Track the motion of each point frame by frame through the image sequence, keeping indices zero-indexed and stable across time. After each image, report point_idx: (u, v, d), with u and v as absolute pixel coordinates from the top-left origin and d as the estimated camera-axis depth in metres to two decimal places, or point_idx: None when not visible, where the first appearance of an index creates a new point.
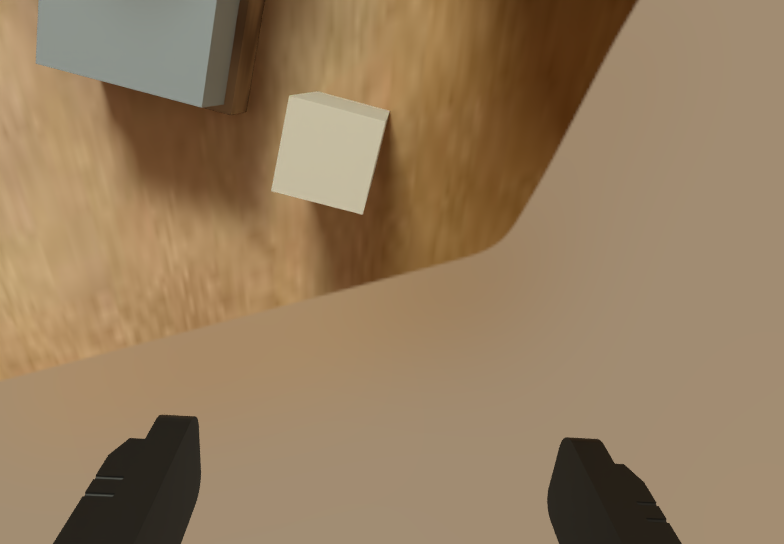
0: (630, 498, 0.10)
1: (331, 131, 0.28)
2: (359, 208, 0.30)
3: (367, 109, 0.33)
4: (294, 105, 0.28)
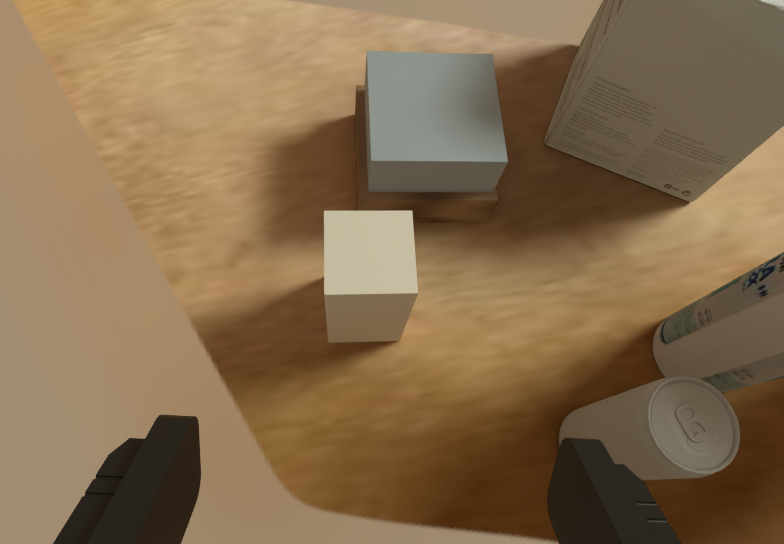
0: (630, 498, 0.10)
1: (393, 249, 0.31)
2: (329, 290, 0.29)
3: None
4: (405, 216, 0.31)
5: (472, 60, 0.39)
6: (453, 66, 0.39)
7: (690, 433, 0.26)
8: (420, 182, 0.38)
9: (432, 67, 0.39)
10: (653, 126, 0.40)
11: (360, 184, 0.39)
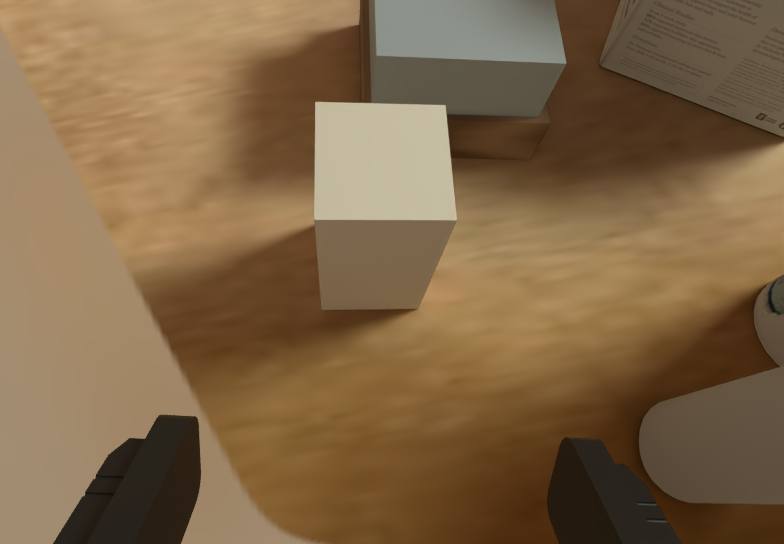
0: (630, 498, 0.10)
1: (419, 158, 0.20)
2: (322, 213, 0.19)
3: None
4: (435, 112, 0.21)
5: None
6: None
7: None
8: (442, 97, 0.28)
9: None
10: (757, 25, 0.30)
11: (366, 98, 0.29)
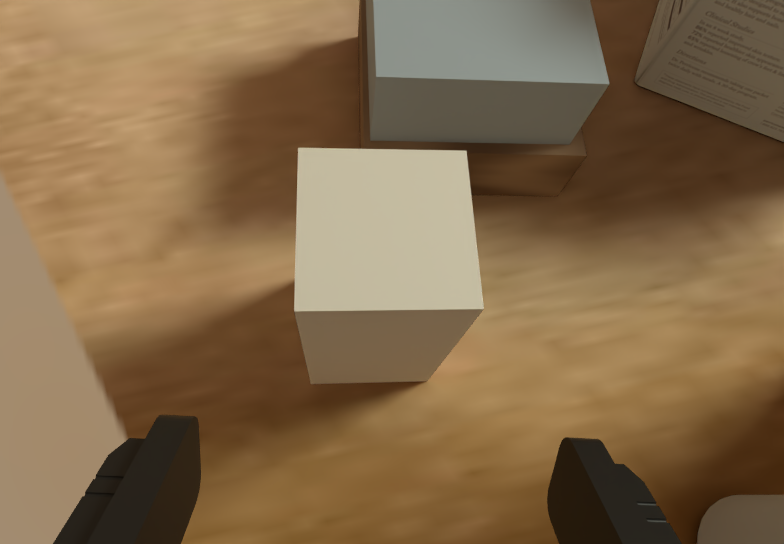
0: (630, 498, 0.10)
1: (433, 223, 0.16)
2: (305, 302, 0.14)
3: None
4: (454, 160, 0.16)
5: None
6: None
7: None
8: (456, 123, 0.23)
9: None
10: None
11: (366, 126, 0.24)
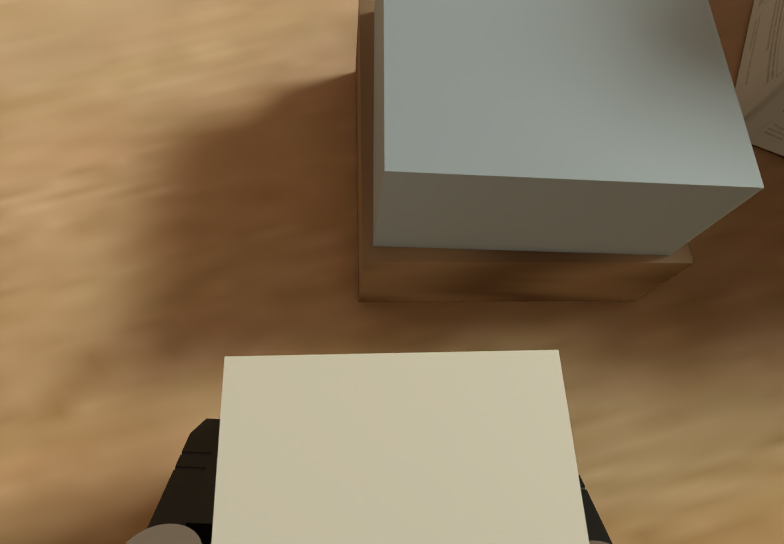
0: None
1: (501, 528, 0.07)
2: None
3: None
4: (536, 373, 0.08)
5: None
6: None
7: None
8: (507, 229, 0.15)
9: None
10: None
11: (366, 221, 0.16)
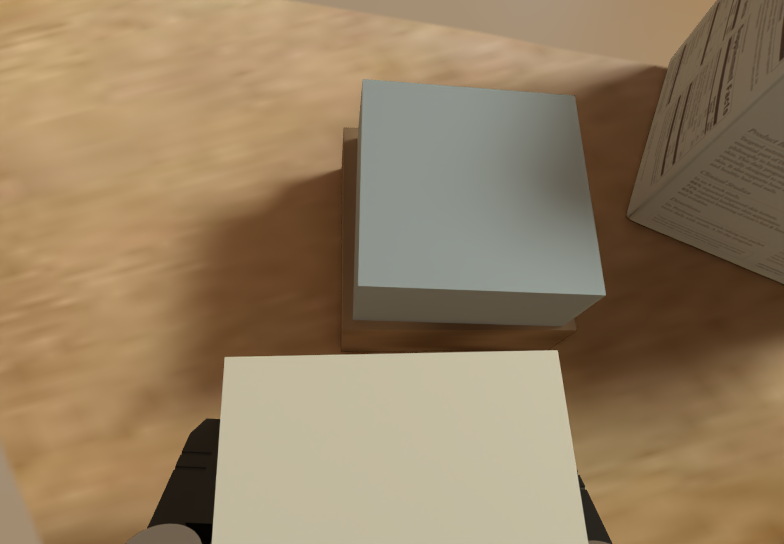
0: None
1: (501, 528, 0.08)
2: None
3: None
4: (535, 373, 0.08)
5: (541, 104, 0.23)
6: (509, 113, 0.23)
7: None
8: (443, 312, 0.22)
9: (473, 114, 0.23)
10: None
11: (345, 300, 0.23)
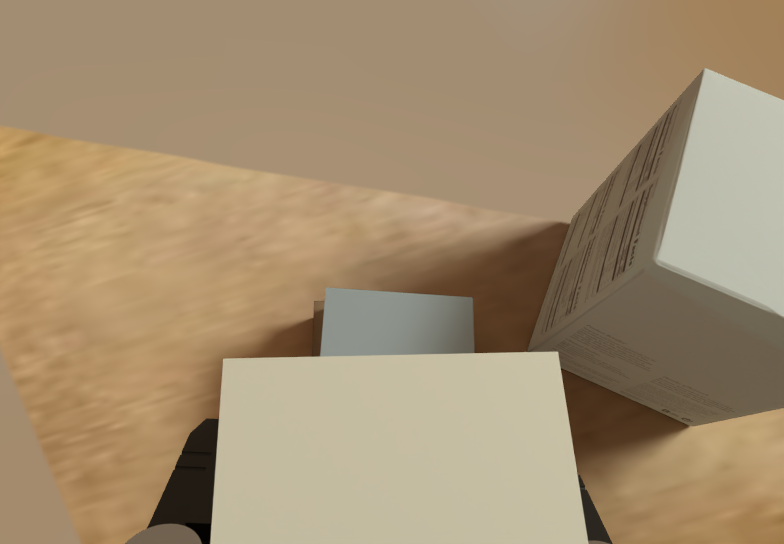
0: None
1: (501, 530, 0.07)
2: None
3: None
4: (535, 375, 0.08)
5: (448, 305, 0.34)
6: (425, 312, 0.33)
7: None
8: None
9: (400, 313, 0.33)
10: (650, 371, 0.35)
11: None
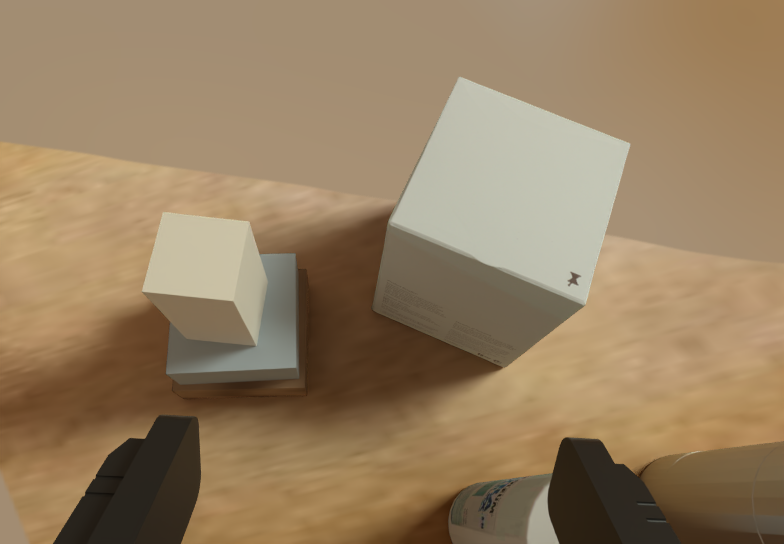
0: (630, 498, 0.10)
1: (220, 256, 0.32)
2: (148, 288, 0.31)
3: (250, 309, 0.36)
4: (241, 226, 0.33)
5: (275, 260, 0.43)
6: None
7: None
8: (224, 378, 0.42)
9: None
10: (446, 318, 0.43)
11: None
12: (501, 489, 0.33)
